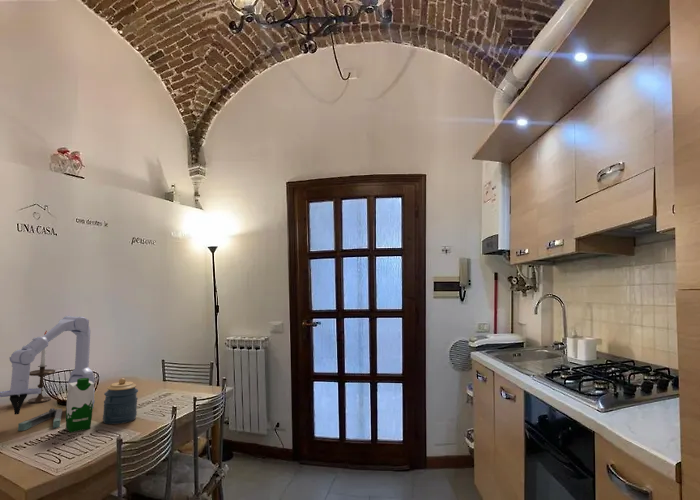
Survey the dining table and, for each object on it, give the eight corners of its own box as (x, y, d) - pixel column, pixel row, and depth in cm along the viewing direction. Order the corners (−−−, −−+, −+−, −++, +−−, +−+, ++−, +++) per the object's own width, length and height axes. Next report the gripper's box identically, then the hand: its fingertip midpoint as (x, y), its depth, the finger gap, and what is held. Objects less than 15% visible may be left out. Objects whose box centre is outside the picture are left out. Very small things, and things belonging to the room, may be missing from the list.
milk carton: (67, 433, 159) (71, 381, 161) (62, 428, 166) (66, 377, 168) (93, 428, 165) (97, 378, 167) (87, 423, 172) (91, 374, 174)
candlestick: (55, 400, 204) (61, 330, 207) (28, 405, 196) (35, 331, 199) (49, 396, 211) (55, 328, 214) (23, 400, 203) (29, 329, 206)
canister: (98, 419, 177) (101, 378, 178) (130, 413, 186) (132, 373, 188) (107, 427, 168) (111, 383, 169) (141, 420, 177) (143, 378, 179)
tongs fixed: (62, 414, 183) (62, 406, 183) (59, 427, 166) (60, 418, 167) (48, 415, 180) (49, 408, 181) (44, 429, 164) (45, 420, 164)
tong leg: (51, 417, 178) (52, 411, 178) (23, 430, 162) (24, 423, 162) (46, 417, 178) (46, 411, 178) (17, 430, 161) (18, 423, 162)
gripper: (-5, 383, 160) (-9, 419, 159) (41, 379, 168) (38, 413, 166) (-2, 379, 166) (-5, 414, 164) (42, 376, 174) (39, 409, 172)
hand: (16, 413), depth 166 cm, fingers closed
